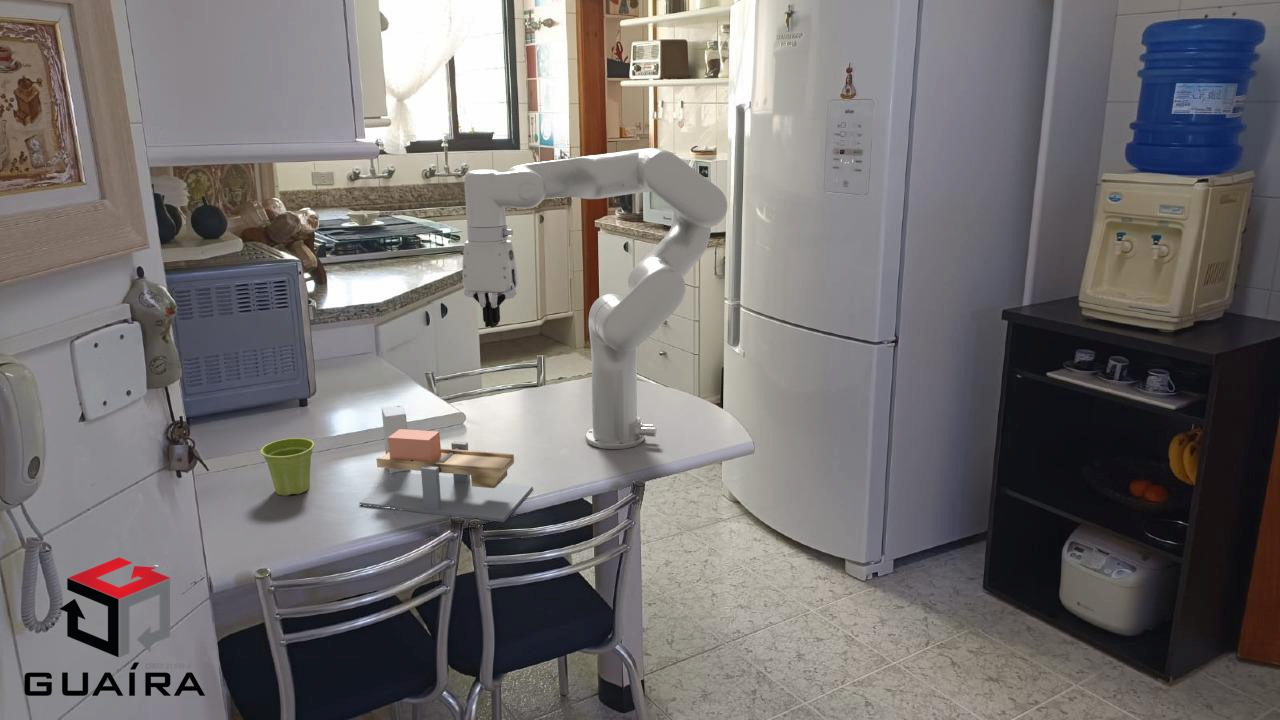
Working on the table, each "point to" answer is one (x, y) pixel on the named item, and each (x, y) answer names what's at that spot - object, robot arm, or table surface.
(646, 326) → the robot arm
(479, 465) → the beam
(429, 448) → the block
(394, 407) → the skincare box
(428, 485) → the stand
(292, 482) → the plant pot
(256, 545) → the table surface
